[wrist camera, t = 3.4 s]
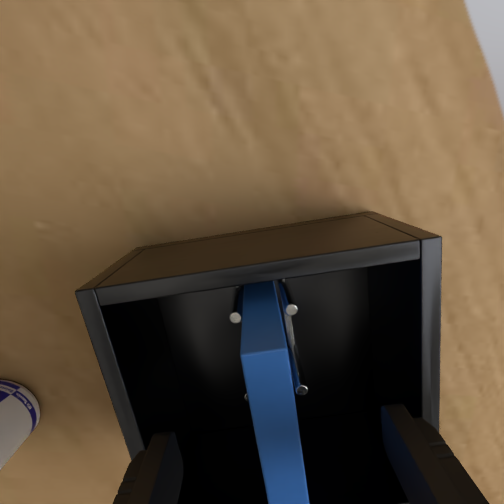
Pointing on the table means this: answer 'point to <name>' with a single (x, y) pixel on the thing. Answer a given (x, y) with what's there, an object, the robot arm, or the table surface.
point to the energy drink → (15, 417)
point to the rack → (288, 312)
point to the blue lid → (272, 395)
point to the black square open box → (306, 338)
